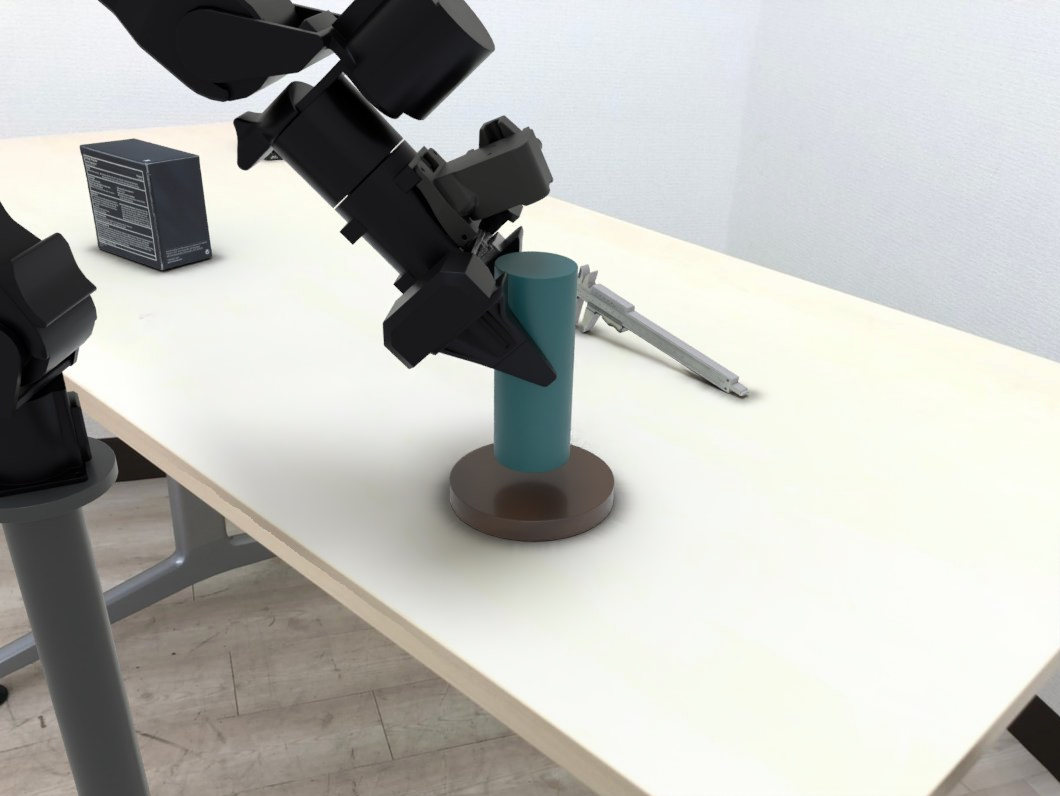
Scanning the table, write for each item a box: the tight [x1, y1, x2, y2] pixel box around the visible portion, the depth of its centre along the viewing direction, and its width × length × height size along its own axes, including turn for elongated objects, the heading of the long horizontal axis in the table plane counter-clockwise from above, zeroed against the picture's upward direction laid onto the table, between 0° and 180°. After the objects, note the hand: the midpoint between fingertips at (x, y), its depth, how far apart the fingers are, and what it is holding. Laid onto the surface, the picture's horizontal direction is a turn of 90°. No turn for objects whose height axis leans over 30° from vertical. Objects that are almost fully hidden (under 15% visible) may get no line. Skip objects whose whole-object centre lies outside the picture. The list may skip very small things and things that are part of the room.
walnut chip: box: [448, 442, 615, 542], centre depth 70 cm, size 11×11×2 cm
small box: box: [79, 137, 213, 271], centre depth 104 cm, size 11×6×10 cm, turn 58°
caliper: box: [576, 263, 750, 397], centre depth 91 cm, size 20×1×6 cm, turn 49°
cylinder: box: [493, 250, 579, 473], centre depth 66 cm, size 5×5×13 cm
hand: (555, 364), depth 66 cm, fingers closed on cylinder, 5 cm apart
